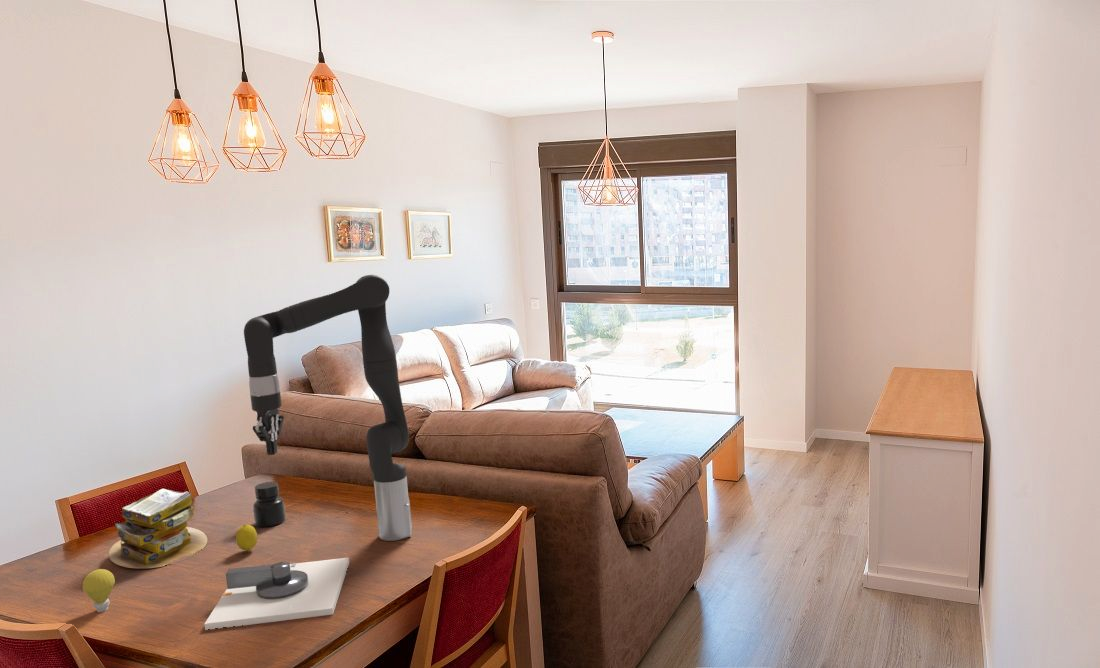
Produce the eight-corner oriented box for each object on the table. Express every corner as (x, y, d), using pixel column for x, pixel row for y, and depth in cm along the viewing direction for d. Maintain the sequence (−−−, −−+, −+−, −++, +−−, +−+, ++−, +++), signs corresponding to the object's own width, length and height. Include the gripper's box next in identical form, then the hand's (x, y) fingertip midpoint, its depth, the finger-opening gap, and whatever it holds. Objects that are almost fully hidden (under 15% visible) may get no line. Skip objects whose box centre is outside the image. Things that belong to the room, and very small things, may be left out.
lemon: (251, 555, 206) (248, 528, 205) (233, 555, 207) (230, 527, 206) (262, 547, 211) (259, 520, 210) (245, 547, 212) (242, 520, 211)
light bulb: (95, 604, 182) (89, 565, 181) (123, 601, 183) (118, 563, 182) (80, 617, 176) (74, 578, 174) (110, 615, 176) (104, 575, 175)
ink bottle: (279, 514, 237) (275, 478, 236) (291, 520, 231) (287, 483, 230) (249, 523, 231) (244, 486, 229) (261, 530, 224) (256, 492, 223)
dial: (312, 573, 188) (310, 553, 187) (302, 595, 176) (299, 573, 175) (237, 581, 186) (235, 560, 185) (221, 604, 174) (219, 582, 174)
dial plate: (349, 562, 197) (348, 556, 197) (333, 614, 170) (332, 607, 169) (239, 575, 194) (239, 569, 193) (205, 630, 166) (204, 623, 166)
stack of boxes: (224, 544, 216) (217, 489, 214) (137, 578, 196) (129, 518, 194) (179, 529, 230) (172, 477, 228) (94, 560, 210) (85, 503, 208)
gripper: (264, 387, 206) (271, 447, 208) (238, 397, 193) (246, 461, 195) (289, 386, 205) (296, 446, 207) (265, 396, 192) (273, 461, 194)
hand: (272, 454), depth 201 cm, fingers closed
